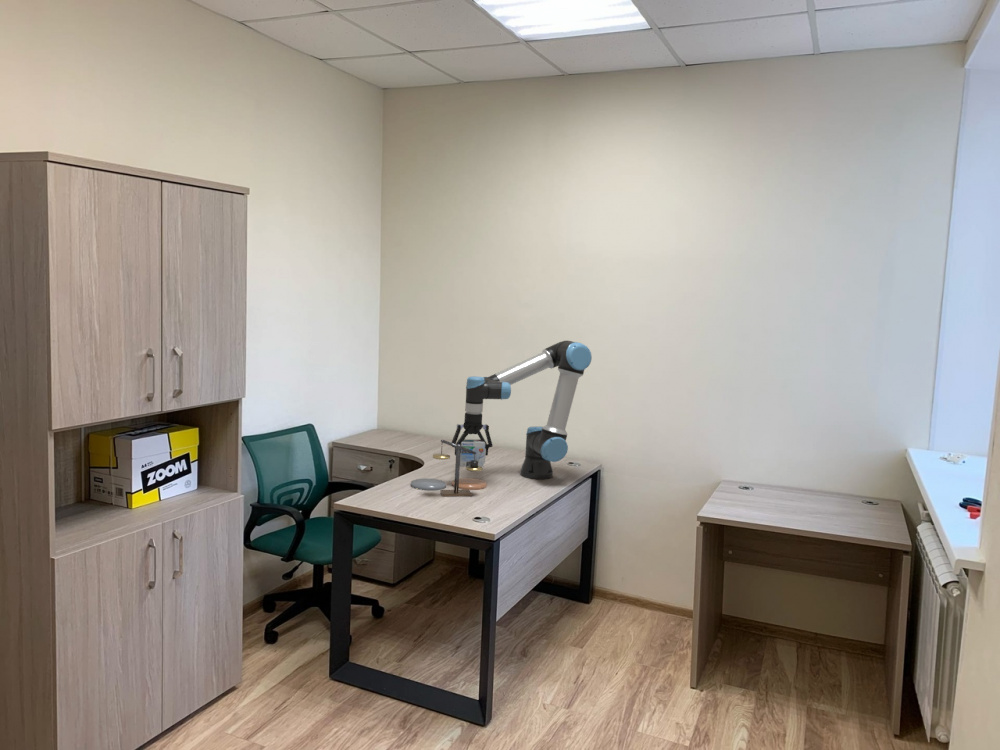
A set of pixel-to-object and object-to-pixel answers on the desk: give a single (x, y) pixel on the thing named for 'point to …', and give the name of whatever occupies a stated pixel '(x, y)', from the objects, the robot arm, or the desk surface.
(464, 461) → the light bulb box
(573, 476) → the desk surface
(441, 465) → the desk surface
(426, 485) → the slate dish
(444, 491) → the balance
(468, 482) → the terracotta dish
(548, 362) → the robot arm
